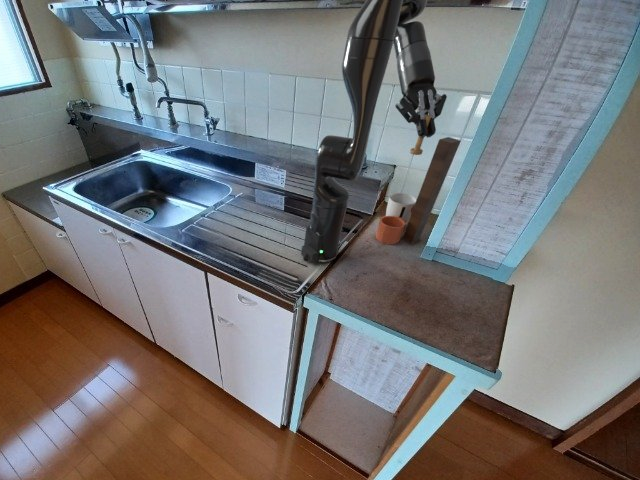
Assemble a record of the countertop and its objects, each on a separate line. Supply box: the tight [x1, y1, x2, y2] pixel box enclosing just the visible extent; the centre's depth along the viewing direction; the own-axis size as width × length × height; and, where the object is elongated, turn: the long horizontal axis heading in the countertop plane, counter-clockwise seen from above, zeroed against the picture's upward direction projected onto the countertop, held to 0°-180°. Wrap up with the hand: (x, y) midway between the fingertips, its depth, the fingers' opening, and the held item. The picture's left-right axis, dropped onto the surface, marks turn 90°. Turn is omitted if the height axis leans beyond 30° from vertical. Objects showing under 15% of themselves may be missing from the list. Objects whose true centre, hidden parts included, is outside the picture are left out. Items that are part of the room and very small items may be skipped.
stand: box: [401, 136, 462, 245], centre depth 93 cm, size 4×4×30 cm
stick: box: [409, 114, 431, 156], centre depth 83 cm, size 3×3×9 cm
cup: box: [385, 192, 417, 223], centre depth 106 cm, size 8×8×10 cm
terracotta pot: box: [375, 215, 407, 245], centre depth 102 cm, size 7×7×6 cm
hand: (427, 135), depth 81 cm, fingers closed on stick, 1 cm apart
